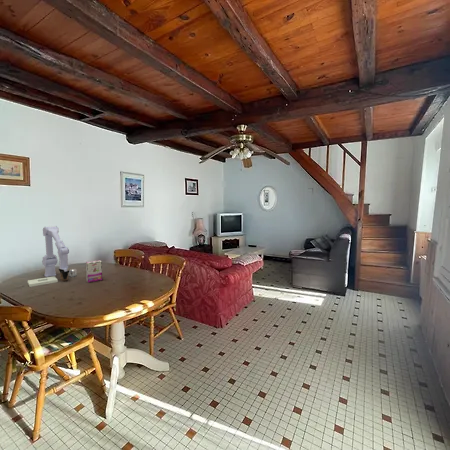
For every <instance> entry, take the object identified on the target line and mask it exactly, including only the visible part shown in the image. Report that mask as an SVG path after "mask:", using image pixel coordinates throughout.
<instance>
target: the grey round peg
mask: <svg viewBox="0 0 450 450" xmlns="http://www.w3.org/2000/svg"><path fill="white" fill-rule="evenodd" d="M68 271H69V273H68V278H75V277H77V275H78V272H77V271H78V270H77V268H70V269H68Z"/></svg>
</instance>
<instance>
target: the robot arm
mask: <svg viewBox="0 0 450 450" xmlns="http://www.w3.org/2000/svg"><path fill="white" fill-rule="evenodd" d="M59 232H60V231H59V227H58V226H57V225H54V226H52V225H51V226H44V227H43V229H42V235H43V237H45V239H44V240H45V251H46V252H45V253H46V254H45V255H44V256H43V257H42V261H41V262H42V266H44V271H45V273H43V274H44V275H43V276H44V278H47V277H53V276H55V277H56V276H57V273H56V265H57V263H58V260H59V269H58V271H59V274H60V273H62V275H63V279H67V276H68V277H69V268H70V266H69V263H68V261H69V259H68V256H69V255H68V254H69V253H70V249H69V247H68V246H66V244H65V243H64V241H63V240H61V238H60V235H59ZM53 240H54V242H55V243H54V242H53ZM54 244H55V247H56V249H57V255H58V257H57V255H56V254H54V246H53V245H54ZM58 258H59V259H58Z"/></svg>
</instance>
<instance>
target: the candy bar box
mask: <svg viewBox="0 0 450 450" xmlns="http://www.w3.org/2000/svg"><path fill="white" fill-rule="evenodd" d="M85 264H86V265H85V267H86V268H85V269H86V270H85V272H86V282H87V283H93V282H99V281H103V262H102V260H100V259H99V260H93V261H86V262H85Z"/></svg>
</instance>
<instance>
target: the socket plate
mask: <svg viewBox="0 0 450 450" xmlns="http://www.w3.org/2000/svg"><path fill="white" fill-rule="evenodd" d="M58 282H59V280H58V278H57V277H56V275H55V276H49V277H42V278H41V277H40V278H35V279H28V280H27V284H28V286H29V287H30V288H32V287H37V286H43V285H47V284H48V285H49V284H56V283H58Z"/></svg>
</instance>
